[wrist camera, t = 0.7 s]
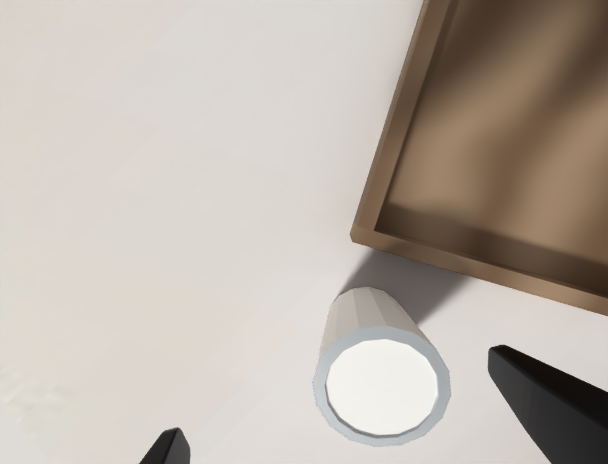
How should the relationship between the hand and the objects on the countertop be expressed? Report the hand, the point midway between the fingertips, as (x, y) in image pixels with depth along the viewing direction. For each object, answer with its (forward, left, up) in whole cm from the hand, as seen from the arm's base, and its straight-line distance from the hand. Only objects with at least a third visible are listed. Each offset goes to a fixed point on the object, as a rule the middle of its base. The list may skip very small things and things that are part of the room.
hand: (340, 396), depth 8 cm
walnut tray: (-9, -11, -13) cm, 20 cm away
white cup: (-3, +4, -13) cm, 14 cm away
